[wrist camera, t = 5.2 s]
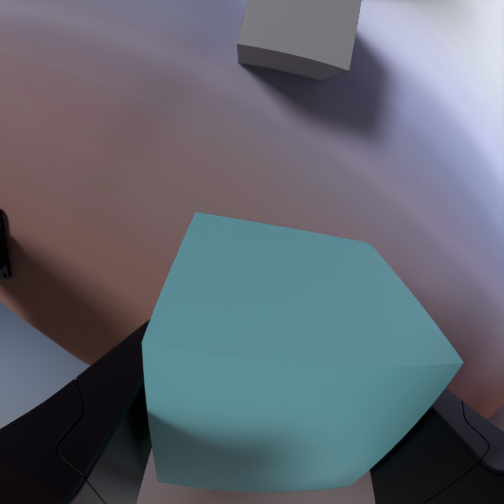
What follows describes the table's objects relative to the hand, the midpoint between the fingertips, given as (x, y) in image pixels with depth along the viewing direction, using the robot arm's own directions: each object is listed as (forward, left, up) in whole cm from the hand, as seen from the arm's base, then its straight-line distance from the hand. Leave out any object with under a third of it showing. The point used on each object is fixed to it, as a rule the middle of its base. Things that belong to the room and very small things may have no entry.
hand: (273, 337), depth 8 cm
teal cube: (0, 0, -2) cm, 2 cm away
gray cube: (0, +11, -12) cm, 17 cm away
